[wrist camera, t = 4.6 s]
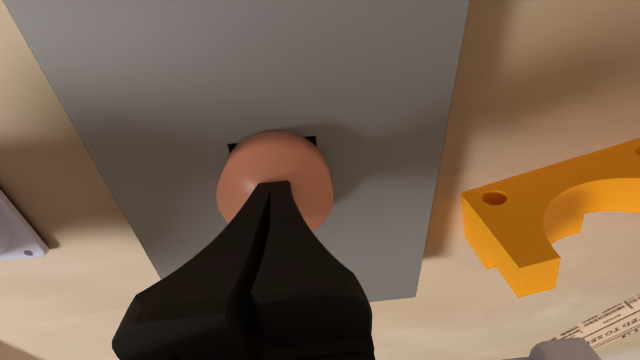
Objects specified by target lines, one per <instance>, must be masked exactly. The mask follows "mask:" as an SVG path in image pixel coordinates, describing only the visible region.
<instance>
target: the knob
mask: <svg viewBox="0 0 640 360" xmlns="http://www.w3.org/2000/svg"><path fill="white" fill-rule="evenodd" d="M285 180H288V181H289V182H290V183H291V190H292V195H293V198H294V200H295V203H296V205H297V207H298V209H299V211H300V213H301V215H302V217H303V218H304V220H305V222H306V223H307V225H308V226H309V228H310V229H311V231H312V232H314V231H316V230H317V229H318V228H319V227H320V226H321V225H322V224H323V223H324V222H325V221H326V219H327V218H328V216H329V214H330V212H331V209H332V206H333V196H334V195H333V188H332V183H331V178H330V172H329V167H328V164H327V161H326V159H325V157H324V155H323V154H322V152H321V151H320V150H319V149H318V148H317V146H315V145H314V144H313V143H312V142H311V141H309V140H307V139H306V138H304V137H302V136H300V135H297V134H294V133H291V132H286V131H265V132H260V133H257V134H254V135H251V136H249V137H247V138H246V139H244V140H242V141H241V142H240V143H239V144H237V145H236V147H235V148H234V149H233V150H232V151H231V153H230V154H229V156H228V159H227V161H226V164H225V166H224V169H223V172H222V174H221V177H220V180H219V182H218V186H217V192H216V198H217V204H218V208H219V210H220V212H221V214H222V216H223V217H224V219H225V220H226V221H227V222H228V224H229V222H230V221H231V220H232V219H233V218H234V217H235V215H236V214H237V213H238V211H239V210H240V209H241V207H242V206H243V205H244V203H245V202H246V201H247V199H248V198H249V196H250V195H251V193H252V192H253V190H254V189H255V187H256V186H257V185H258V183H265V182H276V181H285Z"/></svg>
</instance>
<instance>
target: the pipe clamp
mask: <svg viewBox="0 0 640 360" xmlns="http://www.w3.org/2000/svg"><path fill="white" fill-rule="evenodd" d="M461 202H462V212H463V222H464V233H465V238H466V239H467V241H468V242H469V244H470V245H471V247H472V248H473V250H474V251H475V253H476V254H477V256H478V257H479V259H480V260H481V262H482V263H483V265H484V266H485V268H486V269H490V268H494V267H497V269H498V270H499V272H500V273H501V274H502V276H503V277H504V279H505V280H506V282H507V283H508V284H509V286H510V287H511V289H512V290H513V292H514V293H515V294H516V296H517V297H518V298H519V297H523V296H527V295H531V294H534V293H538V292H542V291H546V290H550V289H554V288H556V282H557V276H558V270H559V264H560V259H561V257H560V256H559V255H558V254H557V252H556V251H555V250H554V249H553V247H552V246H551V244H553V243H554V242H556V241H557V240H559V239H561V238H563V237H566V236H569V235H572V234H576V233H580V231H581V227H582V222H583V217H584V213H591V212H601V211H621V212H632V213H640V138H639V139H635V140H632V141H629V142H626V143H622V144H619V145H616V146H612V147H609V148H606V149H603V150H599V151H596V152H593V153H590V154H586V155H583V156H580V157H577V158H573V159H570V160H567V161H563V162H560V163H557V164H554V165H550V166H547V167H544V168H541V169H537V170H534V171H531V172H527V173H524V174H521V175H518V176H514V177H511V178H508V179H505V180H501V181H498V182H495V183H492V184H488V185H485V186H482V187H478V188H475V189H472V190H469V191H465V192H462V193H461Z"/></svg>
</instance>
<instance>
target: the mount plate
mask: <svg viewBox="0 0 640 360" xmlns="http://www.w3.org/2000/svg"><path fill="white" fill-rule="evenodd" d="M3 2H4V4H5V6H6V7H7V9H8V11H9V13H10V15H11V16H12V18H13V20H14V22H15V23H16V25H17V27H18V29H19V30H20V32H21V34H22V36H23V37H24V39H25V41H26V43H27V44H28V46H29V48H30V50H31V51H32V53H33V55H34V57H35V59H36V60H37V62H38V64H39V66H40V67H41V69H42V71H43V73H44V74H45V76H46V78H47V80H48V81H49V83H50V85H51V87H52V88H53V90H54V92H55V94H56V95H57V97H58V99H59V101H60V102H61V104H62V106H63V108H64V110H65V111H66V113H67V115H68V117H69V118H70V120H71V122H72V124H73V125H74V127H75V129H76V131H77V132H78V134H79V136H80V138H81V139H82V141H83V143H84V145H85V146H86V148H87V150H88V152H89V154H90V155H91V157H92V159H93V161H94V162H95V164H96V166H97V168H98V169H99V171H100V173H101V175H102V176H103V178H104V180H105V182H106V183H107V185H108V187H109V189H110V190H111V192H112V194H113V196H114V197H115V199H116V201H117V203H118V205H119V206H120V208H121V210H122V212H123V213H124V215H125V217H126V219H127V220H128V222H129V224H130V226H131V227H132V229H133V231H134V233H135V234H136V236H137V238H138V240H139V241H140V243H141V245H142V247H143V248H144V250H145V252H146V254H147V256H148V257H149V259H150V261H151V263H152V264H153V266H154V268H155V270H156V271H157V273H158V275H159V277H160V278H161V280H162V279H164V278H165V277H167V276H168V275H170V274H171V273H172V272H174V271H175V270H177V269H178V268H180V267H181V266H182V265H184V264H185V263H186V262H188V261H189V260H190V259H192V258H193V257H194V256H195V255H196V254H198V253H199V252H200V251H201V250H202V249H204V248H205V247H206V246H207V245H208V244H209V243H211V242H212V241H213V240H214V239H215V238H216V237H217V236H218V235H219V234H220V233H221V232H222V231H223V229H224V228H225V227H226V226H227V225H228V222H227V221H226V220H225V219H224V217H223V216H222V214H221V212H220V210H219V208H218V204H217V198H216V192H217V186H218V182H219V180H220V177H221V174H222V172H223V169H224V166H225V164H226V161H227V159H228V156H229V154H230V153H231V151H232V150H233V149H234V148H235V147H236V145H237V144H239V143H240V142H241V141H242V140H244V139H246V138H247V137H249V136H251V135H254V134H257V133H260V132H265V131H286V132H291V133H294V134H297V135H300V136H302V137H307V136H315V146H317V148H318V149H319V150H320V151H321V152H322V154H323V155H324V157H325V159H326V161H327V164H328V167H329V172H330V178H331V183H332V188H333V195H334V196H333V206H332V209H331V212H330V214H329V216H328V218H327V219H326V221H325V222H324V223H323V224H322V225H321V226H320V227H319V228H318V229H317V230H316V231H314V232H313V233H314V235H315V236H316V237H317V239H318V240H319V241H320V242H321V243H322V244H323V245H324V247H325V248H326V249H327V250H328V251H329V252H330V253H331V254H332V255H333V256H334V257H335V258H336V259H337V260H338V261H339V262H341V263H342V264H343V265H344V266H345V267H346V268H348V269H349V270H350V271H352V272H353V273H354V274H355V276H356V277H357V279H358V281H359V283H360V284H361V286H362V288H363V290H364V292H365V294H366V296H367V299H368V301H369V302H374V301H384V300H393V299H403V298H412V297H416V292H417V286H418V281H419V275H420V270H421V264H422V259H423V253H424V248H425V242H426V237H427V231H428V226H429V221H430V215H431V210H432V204H433V199H434V193H435V188H436V182H437V177H438V171H439V166H440V160H441V155H442V149H443V144H444V138H445V133H446V128H447V122H448V117H449V111H450V106H451V100H452V95H453V89H454V84H455V78H456V73H457V67H458V62H459V56H460V51H461V45H462V40H463V35H464V29H465V24H466V18H467V13H468V7H469V2H470V0H3Z"/></svg>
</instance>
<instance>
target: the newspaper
mask: <svg viewBox="0 0 640 360" xmlns="http://www.w3.org/2000/svg"><path fill="white" fill-rule="evenodd" d="M638 330H640V294H638V295H636V296H634V297H632V298H630V299H628V300H626V301H624V302H622V303H620V304H618V305H616V306H614V307H612V308H610V309H608V310H606V311H604V312H602V313H600V314H598V315H596V316H595V317H593V318H591V319H589V320H587V321H585V322H583V323H581V324H579V325H577V326H575V327H573V328H571V329H569V330H567V331H565V332H563V333H561V334H559V335H557V336H555V337H553V338H551V339H549V340H558V339H568V338H577V337H581V338H584V339H585V340H586V341H587V343H588V344H589V345H590V346H591V348H592V349H593V350H594V351H595V350H597V349H599V348H602V347H604V346H606V345H608V344H610V343H612V342H615V341H617V340H619V339H621V338H623V337H625V336H628V335H630V334H632V333H634V332H636V331H638ZM549 340H547V341H549Z"/></svg>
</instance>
